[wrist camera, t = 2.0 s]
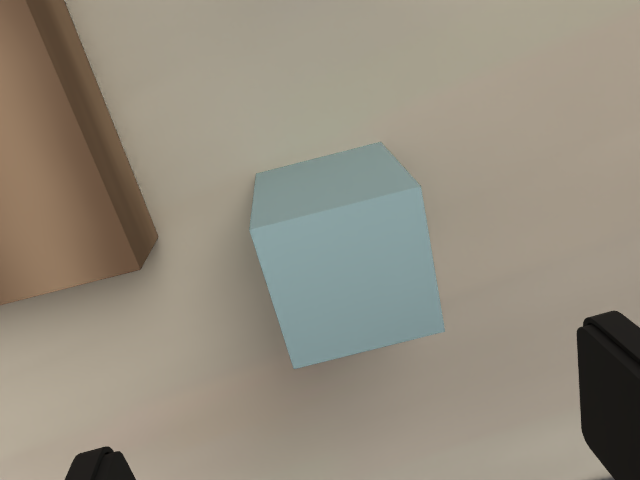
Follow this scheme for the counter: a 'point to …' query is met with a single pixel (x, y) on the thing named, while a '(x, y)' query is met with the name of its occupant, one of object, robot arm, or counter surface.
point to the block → (345, 254)
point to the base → (60, 163)
